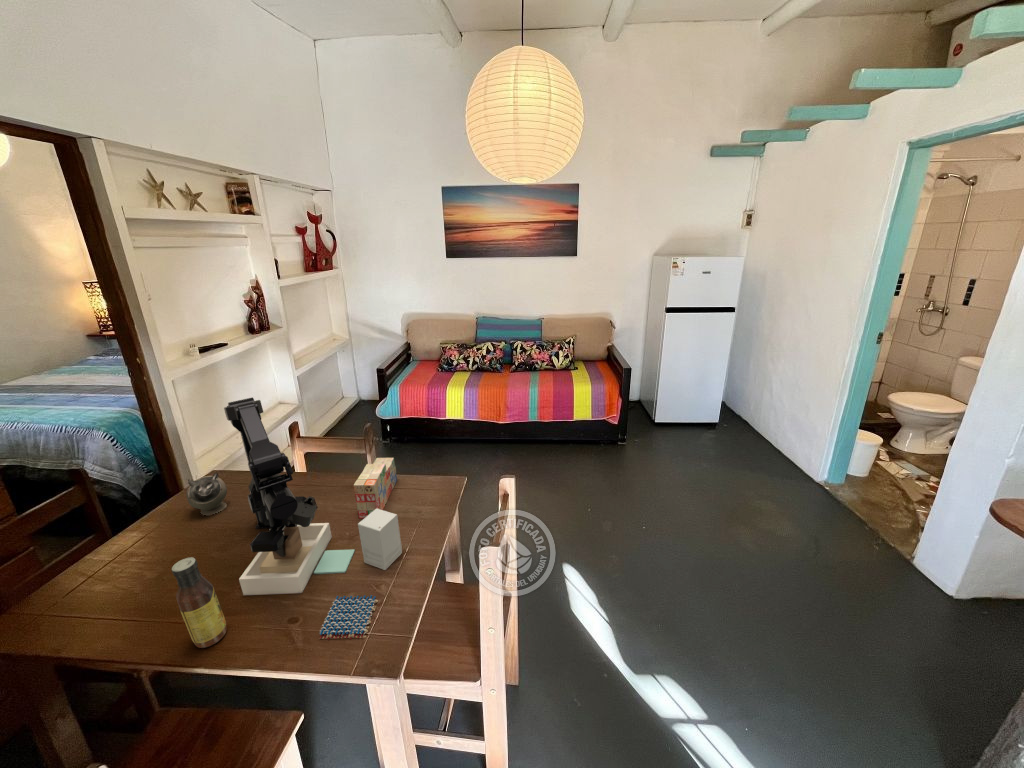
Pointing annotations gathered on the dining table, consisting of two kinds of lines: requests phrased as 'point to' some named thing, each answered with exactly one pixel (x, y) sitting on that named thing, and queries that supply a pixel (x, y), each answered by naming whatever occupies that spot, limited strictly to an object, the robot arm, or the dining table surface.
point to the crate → (287, 565)
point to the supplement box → (380, 538)
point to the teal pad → (334, 561)
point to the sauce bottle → (198, 604)
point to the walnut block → (291, 543)
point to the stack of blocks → (375, 486)
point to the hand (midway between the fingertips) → (288, 549)
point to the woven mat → (348, 618)
